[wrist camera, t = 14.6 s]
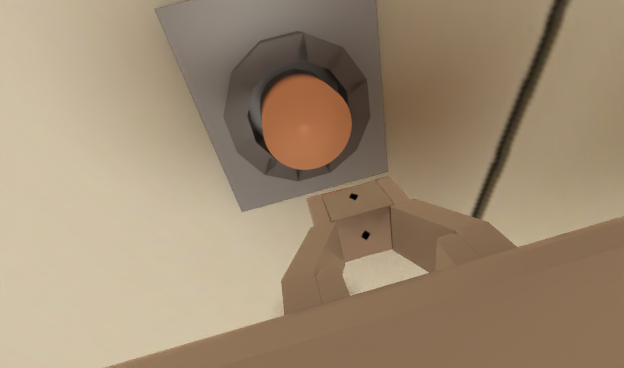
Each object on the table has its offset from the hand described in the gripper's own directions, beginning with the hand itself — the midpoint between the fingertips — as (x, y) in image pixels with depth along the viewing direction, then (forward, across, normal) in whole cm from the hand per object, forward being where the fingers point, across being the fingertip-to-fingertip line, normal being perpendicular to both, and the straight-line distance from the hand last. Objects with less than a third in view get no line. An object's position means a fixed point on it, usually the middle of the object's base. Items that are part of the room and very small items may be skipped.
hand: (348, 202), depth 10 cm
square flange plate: (+15, 0, 0) cm, 15 cm away
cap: (+14, 0, 0) cm, 14 cm away
